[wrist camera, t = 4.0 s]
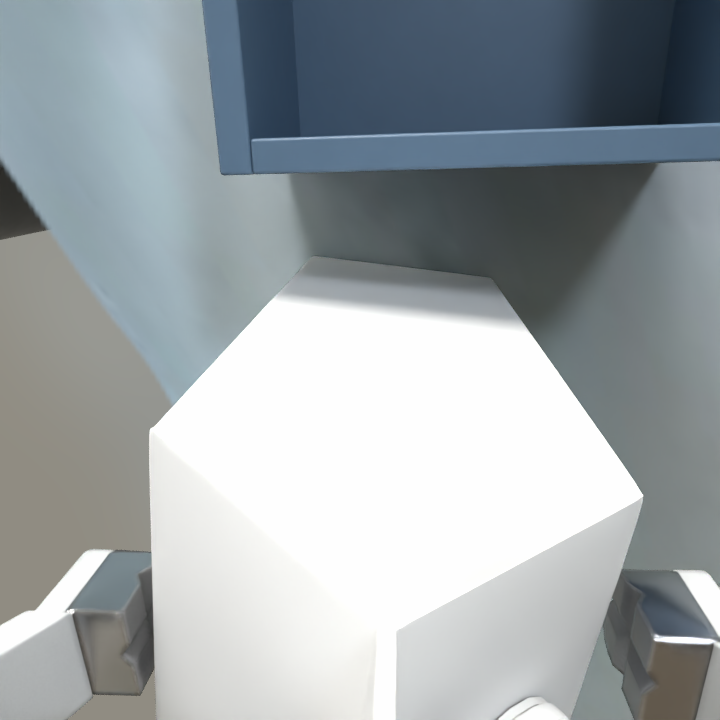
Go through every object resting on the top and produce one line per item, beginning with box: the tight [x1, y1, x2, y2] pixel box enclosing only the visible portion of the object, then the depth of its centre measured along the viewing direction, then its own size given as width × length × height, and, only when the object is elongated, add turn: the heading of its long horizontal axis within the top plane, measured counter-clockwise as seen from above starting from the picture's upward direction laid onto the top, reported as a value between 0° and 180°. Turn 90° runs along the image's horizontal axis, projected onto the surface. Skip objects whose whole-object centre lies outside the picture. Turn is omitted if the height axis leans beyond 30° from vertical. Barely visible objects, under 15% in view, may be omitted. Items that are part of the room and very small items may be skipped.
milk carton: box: [149, 256, 643, 720], centre depth 14 cm, size 7×7×19 cm
